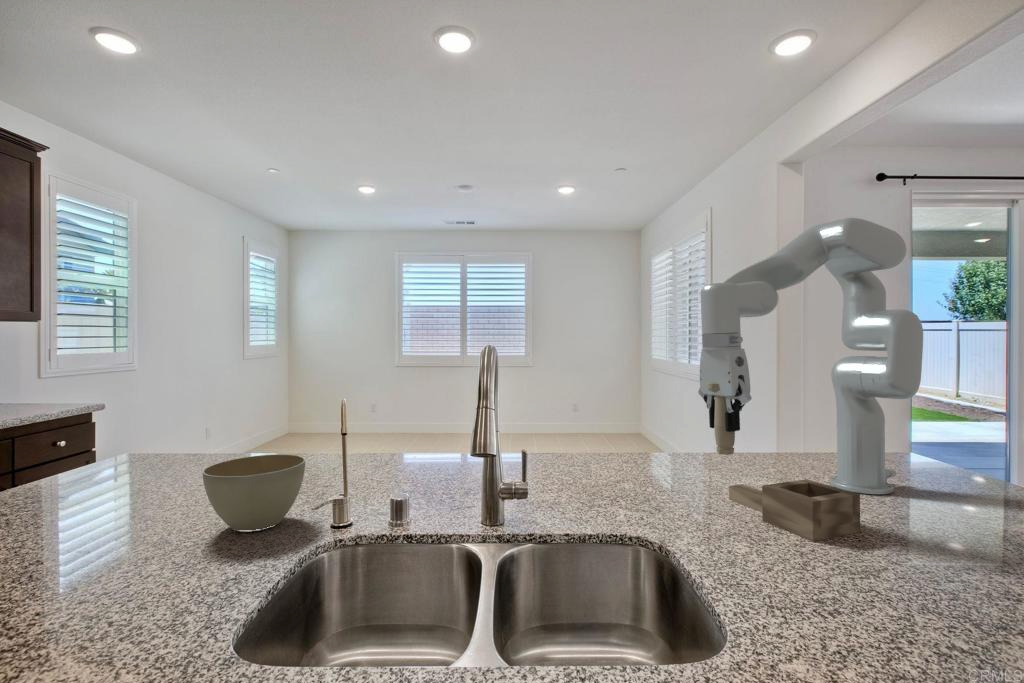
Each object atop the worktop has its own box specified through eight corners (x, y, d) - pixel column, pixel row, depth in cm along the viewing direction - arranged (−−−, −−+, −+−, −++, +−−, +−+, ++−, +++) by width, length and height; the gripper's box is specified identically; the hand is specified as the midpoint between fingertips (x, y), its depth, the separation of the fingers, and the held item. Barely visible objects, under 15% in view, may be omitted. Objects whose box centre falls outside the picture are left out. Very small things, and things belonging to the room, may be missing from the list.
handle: (745, 456, 103) (742, 383, 102) (712, 456, 103) (710, 384, 103) (737, 450, 107) (735, 380, 107) (706, 451, 108) (703, 381, 108)
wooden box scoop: (756, 495, 115) (756, 464, 115) (860, 532, 93) (859, 494, 93) (714, 501, 111) (714, 469, 111) (812, 541, 89) (812, 501, 89)
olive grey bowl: (286, 504, 112) (285, 450, 112) (320, 525, 99) (320, 463, 99) (192, 525, 99) (191, 464, 99) (218, 552, 86) (217, 481, 86)
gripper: (767, 341, 99) (771, 434, 99) (707, 341, 114) (710, 421, 115) (737, 343, 96) (741, 438, 96) (680, 343, 112) (683, 425, 112)
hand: (724, 428), depth 105 cm, fingers closed on handle, 3 cm apart
